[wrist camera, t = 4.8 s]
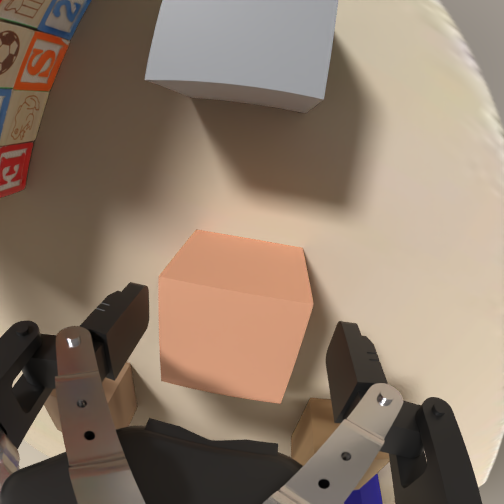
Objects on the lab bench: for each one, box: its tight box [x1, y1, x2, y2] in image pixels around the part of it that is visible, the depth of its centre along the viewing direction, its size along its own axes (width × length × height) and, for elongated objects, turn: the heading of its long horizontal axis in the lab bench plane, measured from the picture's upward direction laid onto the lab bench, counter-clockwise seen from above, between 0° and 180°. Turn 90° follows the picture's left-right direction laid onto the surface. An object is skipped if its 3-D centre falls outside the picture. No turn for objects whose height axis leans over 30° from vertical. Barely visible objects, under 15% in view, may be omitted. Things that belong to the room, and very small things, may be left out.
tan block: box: [44, 362, 138, 432], centre depth 16 cm, size 5×5×5 cm
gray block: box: [145, 0, 338, 113], centre depth 8 cm, size 5×5×5 cm
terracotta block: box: [159, 230, 314, 404], centre depth 13 cm, size 5×5×5 cm
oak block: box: [291, 398, 390, 490], centre depth 16 cm, size 5×5×5 cm
